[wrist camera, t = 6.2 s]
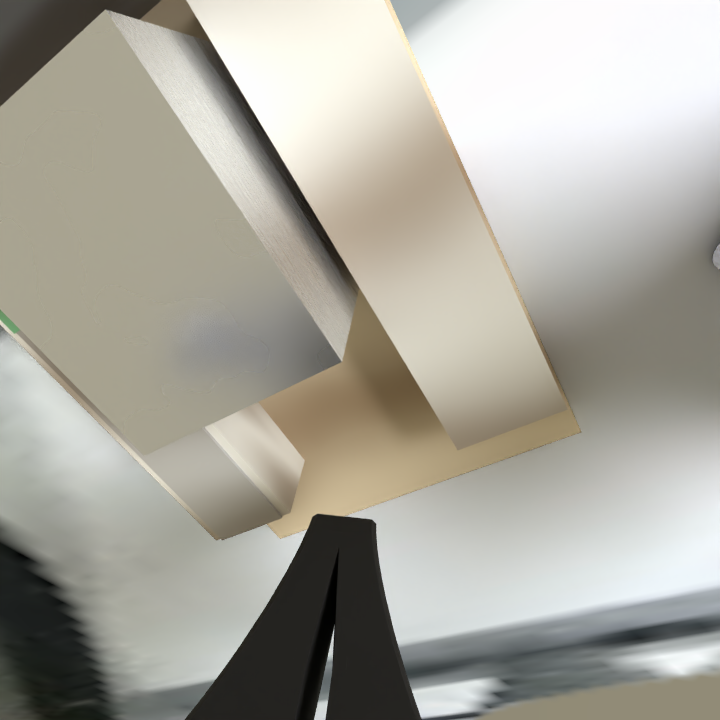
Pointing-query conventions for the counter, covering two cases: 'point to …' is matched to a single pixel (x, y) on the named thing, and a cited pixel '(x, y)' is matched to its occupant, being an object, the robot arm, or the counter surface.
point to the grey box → (161, 235)
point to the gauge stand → (363, 259)
